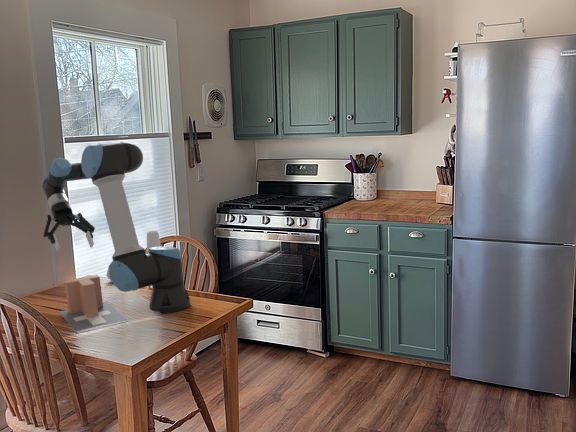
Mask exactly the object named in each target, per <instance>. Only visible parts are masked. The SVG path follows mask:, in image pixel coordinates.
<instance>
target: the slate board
mask: <svg viewBox="0 0 576 432" xmlns="http://www.w3.org/2000/svg"><path fill="white" fill-rule="evenodd" d="M58 313H59V314H60V315H61V316H62V317H63V318H64V320H65V321H66V323H67V324H68V325H69V326H70V328H72V331H74V332H78V333H76V335H77V334H79V331H82V330H83V331H82V332H80V334H82V333H87V332H90V331H92V328H94V329H93V331H95V330H96V329H95V327H99V328H97V330H98V329H103V328H108V327H109V324H112V325H110V327H112V326H113V323H116V324H114V326H116V325H120V324H124V323H126V321H125V320H128V318H127V317H125V316H124V315H123V314H122V313H121V312H119V310H117V309H116V308H115V307H114V306H113V305H112V304H110V303H109V302H108V301H103V307H101V308H98V314H99V315H97V316H92V317H88V318H87V317H86V316H85V315H84V313H83V312H78V313H74V314H70V313H69V311H68V309H65V310H61V311H58ZM122 321H124V322H122ZM117 322H120V323H117ZM104 325H107V326H104ZM100 326H103V327H100ZM88 329H90V330H88ZM84 330H86V331H84Z"/></svg>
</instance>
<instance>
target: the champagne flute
mask: <svg viewBox="0 0 576 432" xmlns="http://www.w3.org/2000/svg"><path fill="white" fill-rule="evenodd" d="M161 244H162V243H161V240H160V234H159V231H158V230H149V231H147V232H146V254H147V253H149V252H148V250H149V248H151V247H162V245H161ZM150 288H151V289H153V288H152V285H150Z"/></svg>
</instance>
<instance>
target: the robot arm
mask: <svg viewBox="0 0 576 432" xmlns="http://www.w3.org/2000/svg"><path fill="white" fill-rule="evenodd" d="M143 162H144V154H143V151H142V150H141V148H140V147H139V146H138V145H136V144H135V143H133V142H130V141H120V142H119V141H118V142H101V143H100V142H99V143H95V144H89V145H86V147H85V148H84V150H83V151H82V154H81V160H80V161H73V162H72V161H71V162H70V161H69V160H68V159H66V158H62V157H57V158H55V159H54V160H53V161H52V162H51V165H50V167H49V172H48V174H47V175H45V176H44V177H43V178H42V179H41V187H42V190H43V192H44V195H45V197H46V199H47V203H48V205H49V208H50V211H51V214H52V215H50V214H47V216H46V225H45V228H44V232H43V234H42V235H43V237H44V238H47V239H48V240H49V241H50V243H51V244H53V245H54V248H55V251H56V252H59V250H60V244H59V240H58V237H57V234H56V231H57V230H58V229H59V227H60V226H62V227H65V226H72V227H75V228H76V229H78V230H80V231H82V232H83V233H84V234H85V237H86V240H87V242H88V245H89V247H90V248H93V246H94V244H95V242H94V239H93V238H94V232H95V230H96V228H95V226H94V225H92V224H91V223H90V221H88V220H87V218H85V217H84V216H83V215H82V213H81V212H78V214H74V213H73V210H72V207H71V204H70V202H69V199H68V197H67V194H66V192H65V187H66V185H67V182H72V181H74V182H75V181H81V180H89V179H90V180H91V182H92V184H93V185H94V186H96V187H97V188H98V192H99V194H100V199H101V202H102V207H103V211H104V213H105V214H104V215H105V219H106V223H107V226H108V229H109V233H110V237H111V241H112V246H113V249H114V253H113V254H112V256H111V259H112V261H111V263H109V264H108V267H109V275H110V278H111V280H112V281H111V280H110V281H111V282H112V284H113V285H114V287H115V288H116V289H118V290H119V291H120V292H124V293H125V292H126V293H127V292H132V291H133V292H134V291H137V290H140V289H143V288H147V287H151V286H152V288H151V289H152V291H151V296H150V300H149V304H148V305H149V309H150V310H152V311H155V312H160V313H161V314H167V313H168V314H170V313H176V312H179V311H183V310H185V309H187V308H189V307H190V306H191V299H190V296H189V294H188V293H189V292H188V291H187V290H186V287H185V283H184V282H185V281H184V272H183V263H182V260H183V259H182V258H183V257H182V255H181V250H180V248H177V247H174V246H161V247H151V248H149V250H148V252H149V253H147V252H146V249H145V248H144V247H142V246H141V245H140V244H139V240H138V235H137V233H136V229H135V225H134V221H133V217H132V214H131V213H132V212H131V210H130V206H129V202H128V198H127V194H126V189H125V187H124V183H123V182H124V179H125V178H126V174H128V173H129V174H130V173H133V172H135V171H137V170H138V169H140V167H141V166H142V164H143ZM53 221H54V222H55V224H54V226H53V227H52V228H51V230H50V232H49V229H50V226H51V223H52V222H53Z"/></svg>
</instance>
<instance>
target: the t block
mask: <svg viewBox="0 0 576 432" xmlns="http://www.w3.org/2000/svg"><path fill="white" fill-rule="evenodd" d="M101 285H102V284H101V278H100V276H99V275H98V274H95V275H93V274H92V275H88V276H84V277H83V276H82V277H78V278H72V279H67V280H64V288H65V295H66V303H67V310H68V311H69V313H70V314H74V313H78V312H83V313H84V315H85V316H86V317H87V318H88V317H92V316H97V315H99V314H98V308H101V307H103V302H104V301H103V295H102V294H103V293H102V286H101Z"/></svg>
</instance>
